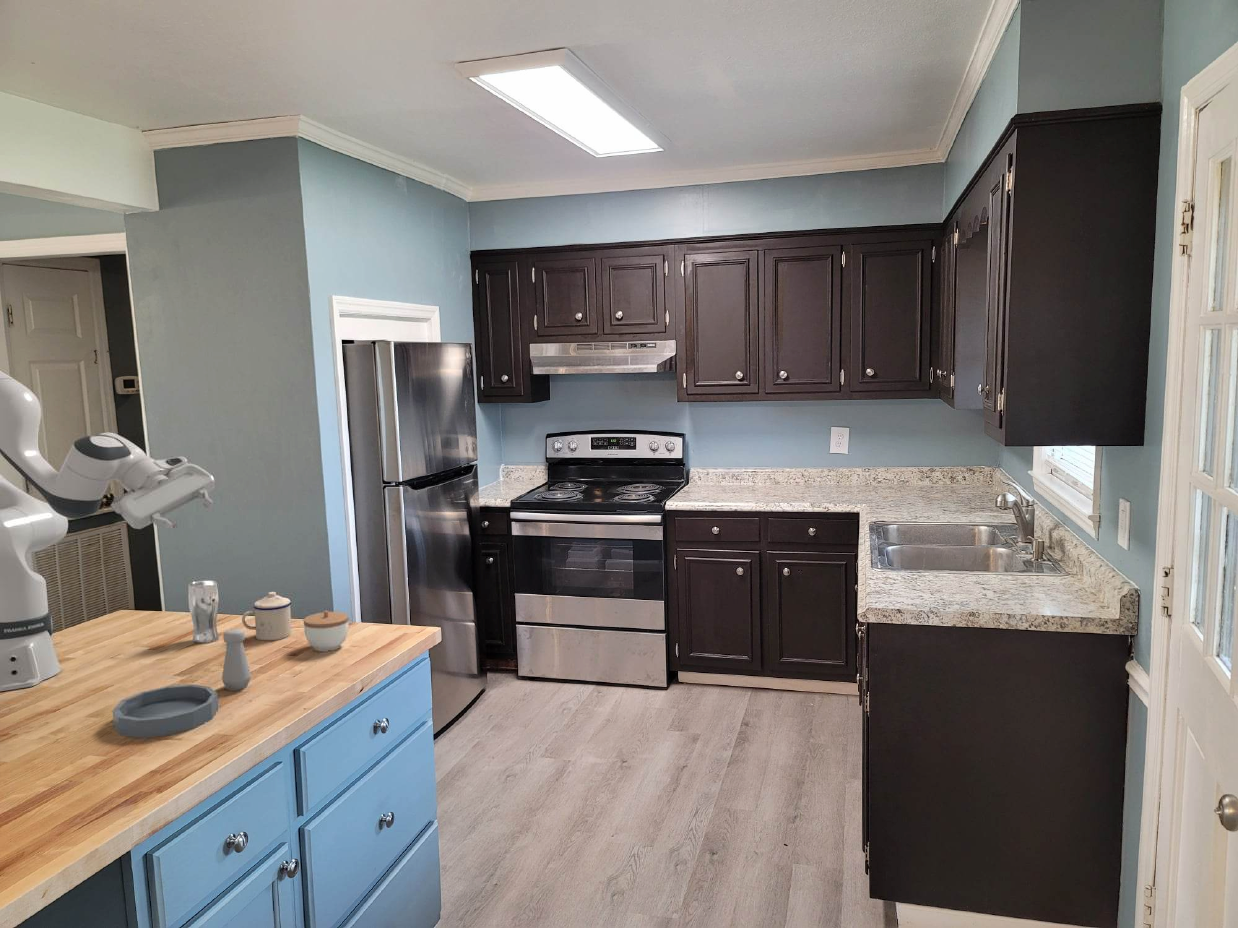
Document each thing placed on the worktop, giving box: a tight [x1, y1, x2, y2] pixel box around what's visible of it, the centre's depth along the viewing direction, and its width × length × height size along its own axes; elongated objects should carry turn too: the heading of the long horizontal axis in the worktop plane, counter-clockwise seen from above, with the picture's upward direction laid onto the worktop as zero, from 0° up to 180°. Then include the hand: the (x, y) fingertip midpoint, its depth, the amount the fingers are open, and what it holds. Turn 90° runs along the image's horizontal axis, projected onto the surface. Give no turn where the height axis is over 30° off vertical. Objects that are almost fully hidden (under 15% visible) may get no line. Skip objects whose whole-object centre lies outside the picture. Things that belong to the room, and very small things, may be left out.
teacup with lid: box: [241, 591, 292, 642], centre depth 223 cm, size 12×9×12 cm
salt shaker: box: [221, 628, 252, 692], centre depth 188 cm, size 6×6×13 cm
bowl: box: [112, 684, 219, 739], centre depth 172 cm, size 18×18×4 cm
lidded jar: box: [303, 610, 350, 652], centre depth 215 cm, size 11×11×9 cm
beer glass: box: [187, 579, 220, 644], centre depth 221 cm, size 7×7×15 cm
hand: (192, 515), depth 189 cm, fingers open, 8 cm apart
